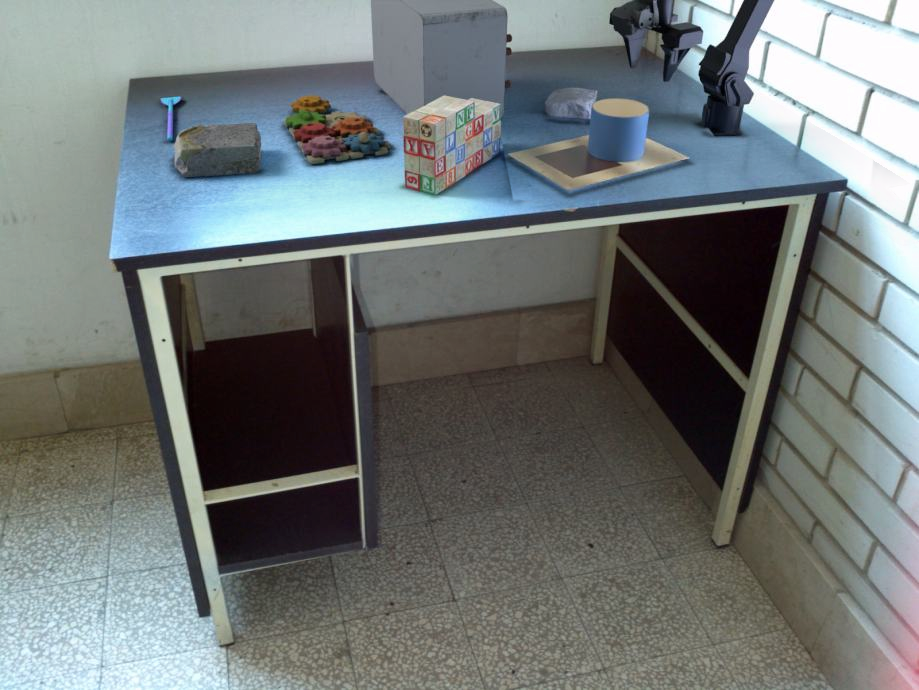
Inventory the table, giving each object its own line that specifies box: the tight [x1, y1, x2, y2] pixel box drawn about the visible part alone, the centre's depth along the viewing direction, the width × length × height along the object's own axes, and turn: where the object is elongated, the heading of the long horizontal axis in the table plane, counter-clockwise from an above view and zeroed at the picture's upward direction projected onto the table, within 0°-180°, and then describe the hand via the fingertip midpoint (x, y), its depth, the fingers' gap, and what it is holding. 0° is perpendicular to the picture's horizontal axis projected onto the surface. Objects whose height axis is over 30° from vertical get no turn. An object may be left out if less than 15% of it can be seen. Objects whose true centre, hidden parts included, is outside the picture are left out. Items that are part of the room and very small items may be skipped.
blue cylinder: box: [587, 98, 650, 162], centre depth 157 cm, size 10×10×8 cm
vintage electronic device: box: [370, 0, 513, 120], centre depth 174 cm, size 32×18×25 cm, turn 22°
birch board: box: [506, 134, 690, 191], centre depth 158 cm, size 27×18×1 cm, turn 122°
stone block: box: [544, 87, 598, 120], centre depth 178 cm, size 12×5×10 cm
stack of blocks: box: [402, 95, 502, 196], centre depth 150 cm, size 21×6×12 cm, turn 148°
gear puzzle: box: [283, 94, 392, 165], centre depth 168 cm, size 31×16×4 cm, turn 21°
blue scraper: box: [160, 96, 182, 142], centre depth 173 cm, size 25×4×1 cm, turn 11°
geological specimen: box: [173, 122, 262, 178], centre depth 154 cm, size 11×6×15 cm
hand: (649, 74), depth 160 cm, fingers open, 9 cm apart
